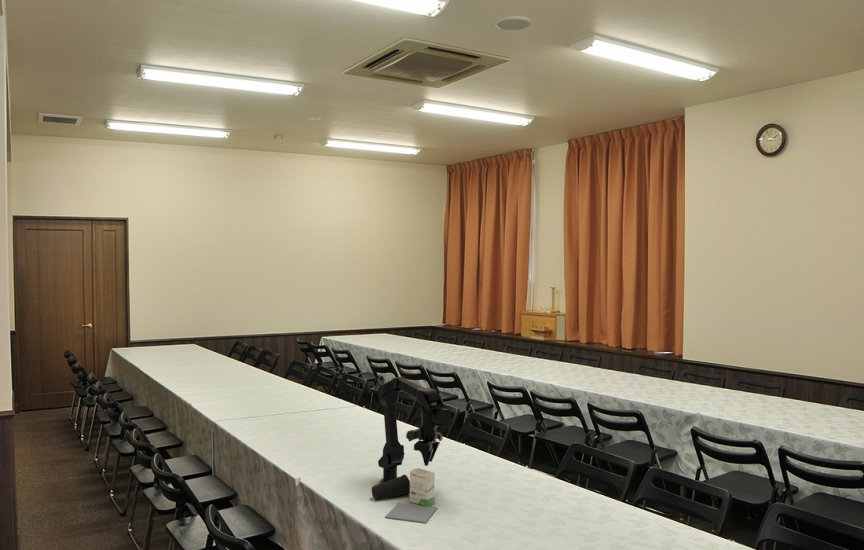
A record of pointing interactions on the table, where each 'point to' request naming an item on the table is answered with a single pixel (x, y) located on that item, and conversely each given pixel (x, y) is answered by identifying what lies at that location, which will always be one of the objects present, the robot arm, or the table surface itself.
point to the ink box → (422, 487)
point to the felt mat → (411, 513)
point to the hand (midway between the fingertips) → (428, 463)
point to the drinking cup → (392, 488)
